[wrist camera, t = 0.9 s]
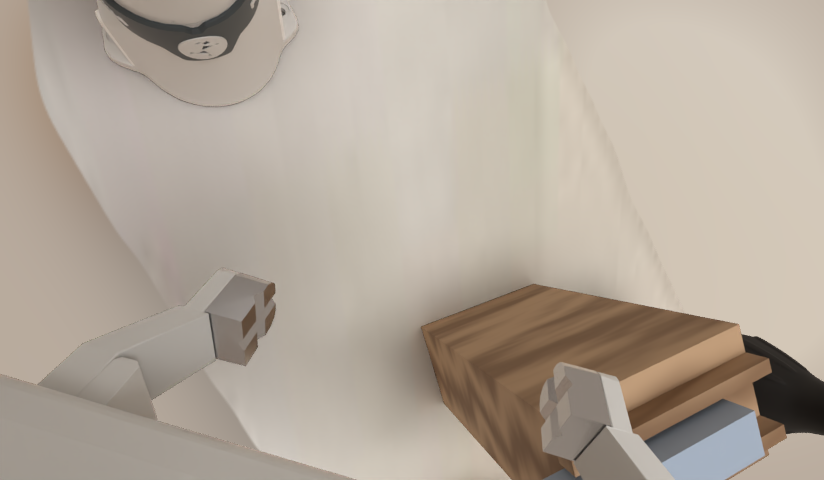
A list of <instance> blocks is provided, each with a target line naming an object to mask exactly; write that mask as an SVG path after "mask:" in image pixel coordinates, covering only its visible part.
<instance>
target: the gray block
mask: <svg viewBox="0 0 824 480" xmlns="http://www.w3.org/2000/svg"><path fill="white" fill-rule="evenodd" d="M644 442H645V443H646V445H647V446H648V447H649V448H650V449H651V451H652V452H653V453H654V454H655V456H656V457H657V458H658V459H659V460H660V462H661V463H662V464H663V465H664V467H665V468H666V469H667V470H668V471H669V473H670V474H671V475H672V476H673V478H674V479H675V480H725V479H727V478H729V477H730V476H732V475H734V474H735V473H737V472H739V471H740V470H742V469H743V468H745V467H747V466H748V465H750V464H752V463H753V462H755V461H757V460H758V459H760V458H762V457H763V456H765V453H764V449H763V445H762V440H761V436H760V432H759V427H758V423H757V419H756V414H755V411H754V410H752V409H749V408H746V407H744V406H741V405H738V404H736V403H733V402H731V401H728V400H725V399H721V400H719V401H718V402H716V403H714V404H712V405H710V406H708V407H706V408H704V409H703V410H701V411H699V412H697V413H695V414H693V415H691V416H690V417H688V418H686V419H684V420H682V421H680V422H678V423H677V424H675V425H673V426H671V427H669V428H667V429H665V430H663V431H662V432H660V433H658V434H656V435H654V436H652V437H650V438H649V439H647V440H645V441H644ZM543 480H583V479H582V477H581V476H578V477H575V476H573V475H572V474H571V473H570V472H569V471H568V470H566V469H565V468H564V469H562V470H560V471H558V472H556V473H554V474H552V475H550V476H549V477H547V478H545V479H543Z"/></svg>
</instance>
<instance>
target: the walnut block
mask: <svg viewBox="0 0 824 480" xmlns="http://www.w3.org/2000/svg"><path fill="white" fill-rule="evenodd" d="M421 328H422V331H423V335H424V338H425V341H426V345H427V348H428V351H429V355H430V358H431V361H432V365H433V368H434V372H435V375H436V378H437V382H438V385H439V388H440V392H441V395H442V398H443V402H444V404H445V405H446V406H447V407H448V408H449V410H450V411H451V412H452V413H453V414H454V415H455V416H456V417H457V419H458V420H459V421H460V422H461V423H462V424H463V425H464V426H465V428H466V429H467V430H468V431H469V432H470V433H471V434H472V435H473V437H474V438H475V439H476V440H477V441H478V442H479V443H480V444H481V446H482V447H483V448H484V449H485V450H486V451H487V452H488V453H489V455H490V456H491V457H492V458H493V459H494V460H495V461H496V462H497V464H498V465H499V466H500V467H501V468H502V469H503V470H504V471H505V473H506V474H507V475H508V476H509V477H510V478H511V479H512V480H543V479H545V478H547V477H549V476H550V475H552V474H554V473H556V472H558V471H560V470H562V469H564V468H565V469H566V470H568V471H569V472H570V473H571V474H572V475H573V476H575V477H578V476H580V474H579V472H578V470H577V468H576V467H575V465H574V461H571V460H568V459H565V458H562V457H559V456H555V455H552V454H549V453H546V452H543V448H542V435H541V427H542V426H543V424H544V423H545V419H544V418H543V416H542V415H541V413H540V395H541V391H542V388H543V386H544V384H545V382H546V380H547V379H549V378H552V377H554V373H553V369H554V368H555V366H556V365H557V364H558V363H559V362H563V363H567V364H571V365H575V366H579V367H582V368H586V369H590V370H594V371H596V372H601V373H604V374H608V375H612V376H615V377H617V379H618V380H619V383H620V386H621V390H622V394H623V398H624V401H625V405H626V409H627V413H628V417H629V420H630V424H631V428H632V432H633V433H634V434H637V435H639V436H640V437H641V439H642V440H643V441H645V440H647V439H649V438H650V437H652V436H654V435H656V434H658V433H660V432H662V431H663V430H665V429H667V428H669V427H671V426H673V425H675V424H677V423H678V422H680V421H682V420H684V419H686V418H688V417H690V416H691V415H693V414H695V413H697V412H699V411H701V410H703V409H704V408H706V407H708V406H710V405H712V404H714V403H716V402H718V401H719V400H721V399H725V400H728V401H731V402H733V403H736V404H738V405H741V406H744V407H746V408H749V409H752V410H754V411H755V414H756V419H757V423H758V427H759V432H760V436H761V440H762V445H763V449H764V453H765V456H763V457H762V458H760V459H758V460H757V461H755V462H753V463H752V464H750V465H748V466H747V467H745V468H743V469H742V470H740V471H739V472H737V473H735V474H734V475H732V476H730V477H729V478H727V479H725V480H729V479H730V478H732V477H734V476H735V475H737V474H738V473H740V472H742V471H744V470H745V469H747V468H748V467H750V466H752V465H753V464H755V463H757V462H758V461H760V460H762V459H763V458H765V457H767V456H768V455H769V453H768V449H769V448H771V447H773V446H774V445H776V444H777V443H779V442H781V441H783V440H784V439H786V438H787V436H786V432H785V428H784V424H781V423H779V422H776V421H774V420H771V419H768V418H766V417H763V416H761V415H760V413H759V409H758V405H757V400H756V396H755V392H754V387H753V382H755V381H757V380H759V379H760V378H762V377H764V376H766V375H768V374H770V373H772V370H771V365H770V361H769V358H766V357H762V356H758V355H754V354H750V353H746V352H745V348H744V344H743V339H742V335H741V331H740V326H739V324H735V323H730V322H725V321H720V320H715V319H710V318H705V317H700V316H694V315H689V314H684V313H679V312H674V311H669V310H664V309H659V308H654V307H649V306H643V305H638V304H633V303H628V302H623V301H618V300H613V299H608V298H603V297H597V296H592V295H587V294H582V293H577V292H572V291H567V290H562V289H557V288H552V287H546V286H541V285H536V284H532V285H530V286H527V287H525V288H522V289H519V290H517V291H514V292H511V293H509V294H506V295H503V296H501V297H498V298H496V299H493V300H490V301H488V302H485V303H482V304H480V305H477V306H474V307H472V308H469V309H467V310H464V311H461V312H459V313H456V314H453V315H451V316H448V317H446V318H443V319H440V320H438V321H435V322H432V323H430V324H427V325H424V326H422V327H421Z"/></svg>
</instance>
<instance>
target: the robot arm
mask: <svg viewBox="0 0 824 480" xmlns="http://www.w3.org/2000/svg"><path fill="white" fill-rule="evenodd" d="M96 1H97V6H98V9H97V10H96V11H95V15H96V17H97V19H98V21H99V22H100V24H101V25H102V33H103V42H104V48H105V52H106V53H107V55H108V56H109V58H110V59H111V60H112V61H113V62H115V63H116V64H118V65H120V66H123V67H125V68H128V69H130V70H133V71H136V72H139V73H142V74H143V75H145V76H146V77H148V78H149V79H150V80H151V81H153V82H154V83H155V84H156V85H158V86H159V87H160V88H161V89H163V90H164V91H166V92H167V93H169V94H171V95H172V96H174V97H176V98H178V99H181V100H183V101H186V102H189V103H192V104H196V105H202V106H226V105H232V104H235V103H239V102H241V101H244V100H246V99H248V98H250V97H252V96H253V95H255V94H256V93H258V92H259V91H260V90H261V89H262V88H263V87H264V86H265V85H266V84H267V83H268V81H269V80H270V79H271V77H272V75H273V74H274V72H275V70H276V67H277V65H278V61H279V58H280V55H281V52H282V50H283V48H284V47H285V46H286V45H287V44H288V43H289V42H290V41H291V40H292V39H293V38H294V36H295V35H296V34H297V32H298V28H299V25H298V21H297V18H296V15H295V14H294V12H293V10H292V8H291V6H290V4H289V2H288V0H96ZM281 11H283V12H284V13H285V15H284V16H282V12H281ZM274 294H275V284H274V283H272V282H269V281H266V280H263V279H259V278H256V277H253V276H250V275H246V274H243V273H239V272H235V271H232V270H229V269H225V268H221V269H219V270H218V271H216V272H215V274H214V275H213V276H212V277H211V278H210V279H209V280H208V281H207V282H206V283H205V284H204V285H203V287H202V288H201V289H200V290H199V291H198V292H197V293H196V294H195V295H194V296H193V297H192V299H191V300H190V301H189V302H188V303H187V304H186V305H185V306H181V305H178V306H176V307H173V308H171V309H168V310H166V311H163V312H161V313H158V314H156V315H153V316H151V317H148V318H145V319H143V320H140V321H138V322H135V323H133V324H130V325H128V326H125V327H123V328H120V329H118V330H115V331H112V332H110V333H108V334H105V335H102V336H100V337H97V338H95V339H92V340H90V341H87V342H85V343H82V344H81V345H80V346H79V347H78V348H77V349H76V350H75V351H74V352H72V353H71V354H70V355H69V356H68V357H67V358H66V359H65V360H64V361H63V362H62V363H60V364H59V365H58V366H57V367H56V368H55V369H54V370H53V371H52V372H51V373H49V375H47V376H46V377H45V378H44V379H43V380H42V381H41V382H40V383H39V384H38V385H36V384H32V383H29V382H25V381H22V380H19V379H15V378H12V377H8V376H5V375H2V374H0V480H356V479H352V478H349V477H346V476H342V475H339V474H336V473H332V472H329V471H325V470H322V469H319V468H315V467H312V466H309V465H305V464H302V463H298V462H295V461H292V460H288V459H285V458H282V457H278V456H275V455H271V454H268V453H265V452H261V451H258V450H255V449H251V448H248V447H244V446H241V445H238V444H234V443H231V442H228V441H224V440H221V439H217V438H214V437H211V436H207V435H204V434H201V433H197V432H194V431H190V430H187V429H184V428H180V427H177V426H173V425H170V424H167V423H163V422H160V421H157V416H156V413H155V410H154V407H153V404H152V401H151V400H153V399H154V398H156V397H157V396H159V395H161V394H162V393H164V392H165V391H167V390H169V389H170V388H172V387H173V386H175V385H177V384H178V383H180V382H182V381H183V380H185V379H186V378H188V377H190V376H191V375H193V374H194V373H196V372H198V371H199V370H201V369H203V368H204V367H206V366H207V365H209V364H211V363H212V362H214V361H215V360H216V359H220V360H224V361H228V362H232V363H235V364H239V365H243V366H246V365H247V363H248V362H249V360H250V358H251V357H252V355H253V354H254V352H255V351H256V349H257V348H258V343H257V339H259V338H260V337H262V336H264V335H266V333H267V332H268V330H269V328H270V327H271V324H272V321H273V319H274V315H275V310H276V304H275V302H274V301H273V300H272V297H273V295H274ZM553 373H554V377H552V378H549V379H547V380H546V382H545V384H544V386H543V388H542V391H541V395H540V413H541V415H542V416H543V418H544V419H545V423H544V424H543V426H542V427H541V435H542V448H543V452H546V453H549V454H552V455H555V456H559V457H562V458H565V459H568V460H571V461H574V465H575V467H576V468H577V470H578V472H579V474H580V476H581V477H582V479H583V480H675V479H674V478H673V476H672V475H671V474H670V473H669V471H668V470H667V469H666V468H665V467H664V465H663V464H662V463H661V462H660V460H659V459H658V458H657V457H656V456H655V454H654V453H653V452H652V451H651V449H650V448H649V447H648V446H647V445H646V443H645V442H644V441H643V440H642V439H641V437H640V436H639V435H637V434H634V433H633V432H632V428H631V424H630V420H629V417H628V413H627V409H626V405H625V401H624V398H623V394H622V390H621V386H620V383H619V380H618V379H617V377H615V376H612V375H608V374H604V373H601V372H596V371H594V370H590V369H586V368H582V367H579V366H575V365H571V364H567V363H563V362H559V363H558V364H557V365H556V366H555V368H554V369H553Z"/></svg>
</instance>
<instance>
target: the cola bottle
mask: <svg viewBox="0 0 824 480" xmlns="http://www.w3.org/2000/svg"><path fill="white" fill-rule="evenodd" d="M741 335H742V334H741ZM742 339H743V344H744V348H745V352H746V353H750V354H754V355H758V356H762V357H766V358H769V361H770V365H771V370H772V373H770V374H768V375H766V376H764V377H762V378H760V379H759V380H757V381H755V382H753V387H754V392H755V396H756V400H757V405H758V409H759V413H760V415H761V416H763V417H766V418H768V419H771V420H774V421H776V422H779V423H781V424H784V428H785V432H786V434H790V433H813V434H819V435H824V382H823V381H821V380H820V379H818V378H816V377H815V376H814V375H812V374H811V373H810V372H809V371H808V370H807V369H806V368H805V367H803V366H802V365H801V364H800V363H798V362H797V361H796V360H794V359H793V358H791V357H790V356H789V355H787V354H786V353H784V352H783V351H781V350H779V349H778V348H776V347H775V346H773V345H772V344H770V343H768V342H767V341H765V340H763V339H761V338H759V337H751V336H747V335H742Z"/></svg>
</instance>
